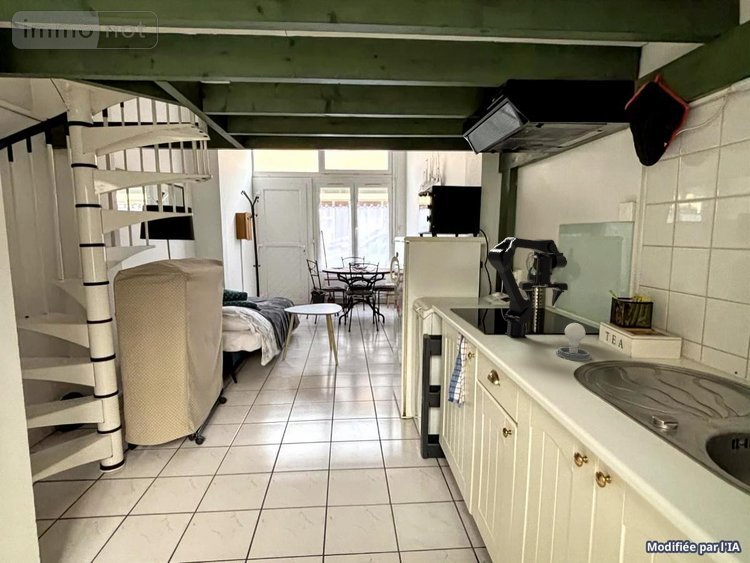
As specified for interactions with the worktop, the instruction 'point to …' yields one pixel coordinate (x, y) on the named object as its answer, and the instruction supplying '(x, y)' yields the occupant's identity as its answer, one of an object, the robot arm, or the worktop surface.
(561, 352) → the bulb dish
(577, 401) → the worktop surface
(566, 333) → the lightbulb
